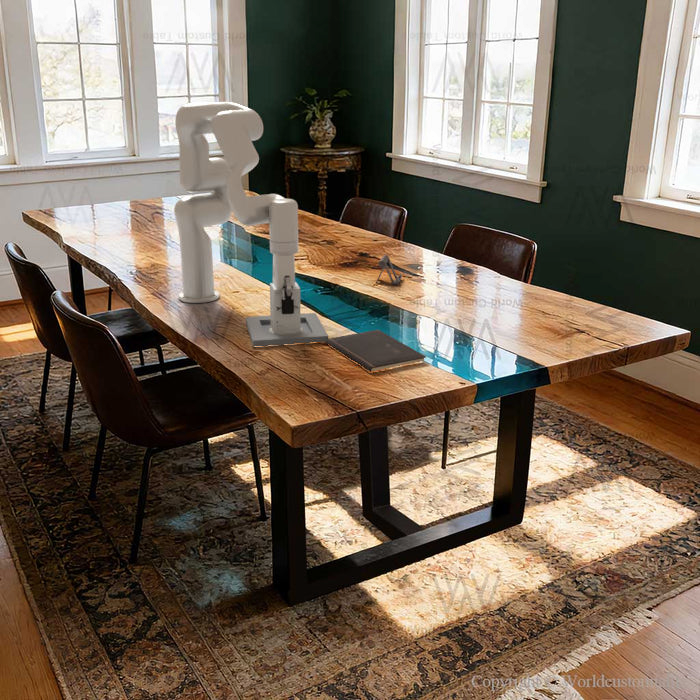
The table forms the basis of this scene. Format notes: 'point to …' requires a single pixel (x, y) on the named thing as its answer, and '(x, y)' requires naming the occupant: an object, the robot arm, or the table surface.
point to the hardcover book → (375, 350)
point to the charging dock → (265, 336)
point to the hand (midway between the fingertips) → (285, 308)
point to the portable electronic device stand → (383, 264)
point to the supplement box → (284, 321)
